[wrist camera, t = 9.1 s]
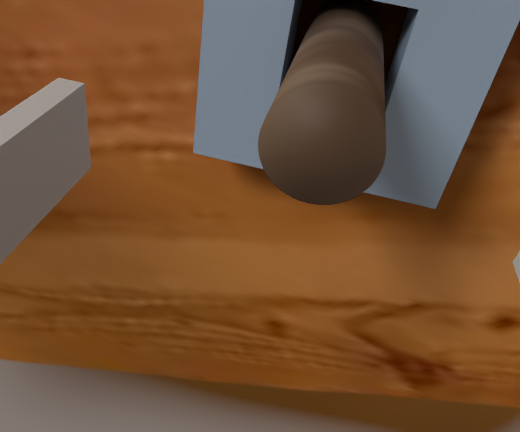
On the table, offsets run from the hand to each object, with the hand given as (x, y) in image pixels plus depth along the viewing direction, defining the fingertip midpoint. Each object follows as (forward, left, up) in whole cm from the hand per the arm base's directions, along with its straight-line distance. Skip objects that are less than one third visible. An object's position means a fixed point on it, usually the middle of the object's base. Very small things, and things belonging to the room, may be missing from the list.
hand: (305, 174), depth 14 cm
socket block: (0, 0, -16) cm, 16 cm away
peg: (0, 0, -16) cm, 16 cm away
